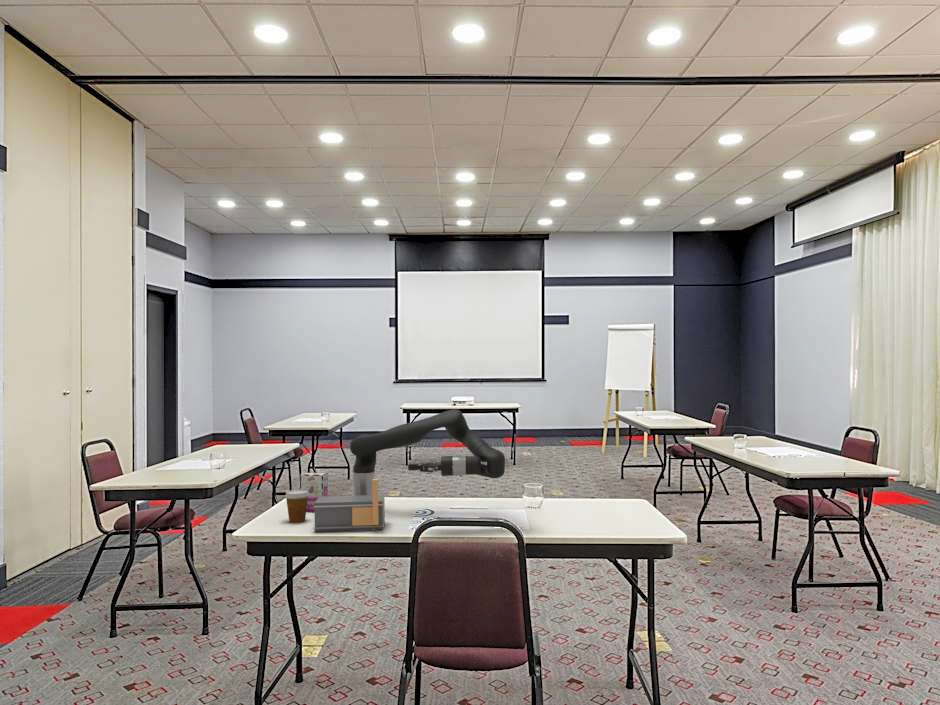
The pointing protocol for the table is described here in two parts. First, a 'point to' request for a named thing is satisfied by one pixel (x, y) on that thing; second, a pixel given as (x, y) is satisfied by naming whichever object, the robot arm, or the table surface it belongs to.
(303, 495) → the disposable coffee cup
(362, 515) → the side door
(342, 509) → the case
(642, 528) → the table surface
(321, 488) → the candy bar box
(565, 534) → the table surface
